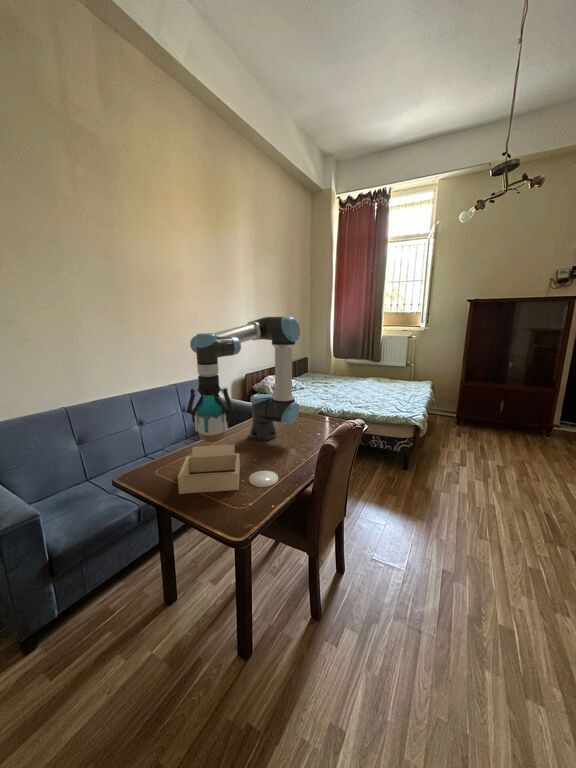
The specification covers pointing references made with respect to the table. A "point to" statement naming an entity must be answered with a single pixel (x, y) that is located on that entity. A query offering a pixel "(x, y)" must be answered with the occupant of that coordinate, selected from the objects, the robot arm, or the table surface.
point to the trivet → (263, 478)
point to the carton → (210, 461)
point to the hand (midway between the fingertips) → (211, 429)
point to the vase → (210, 419)
